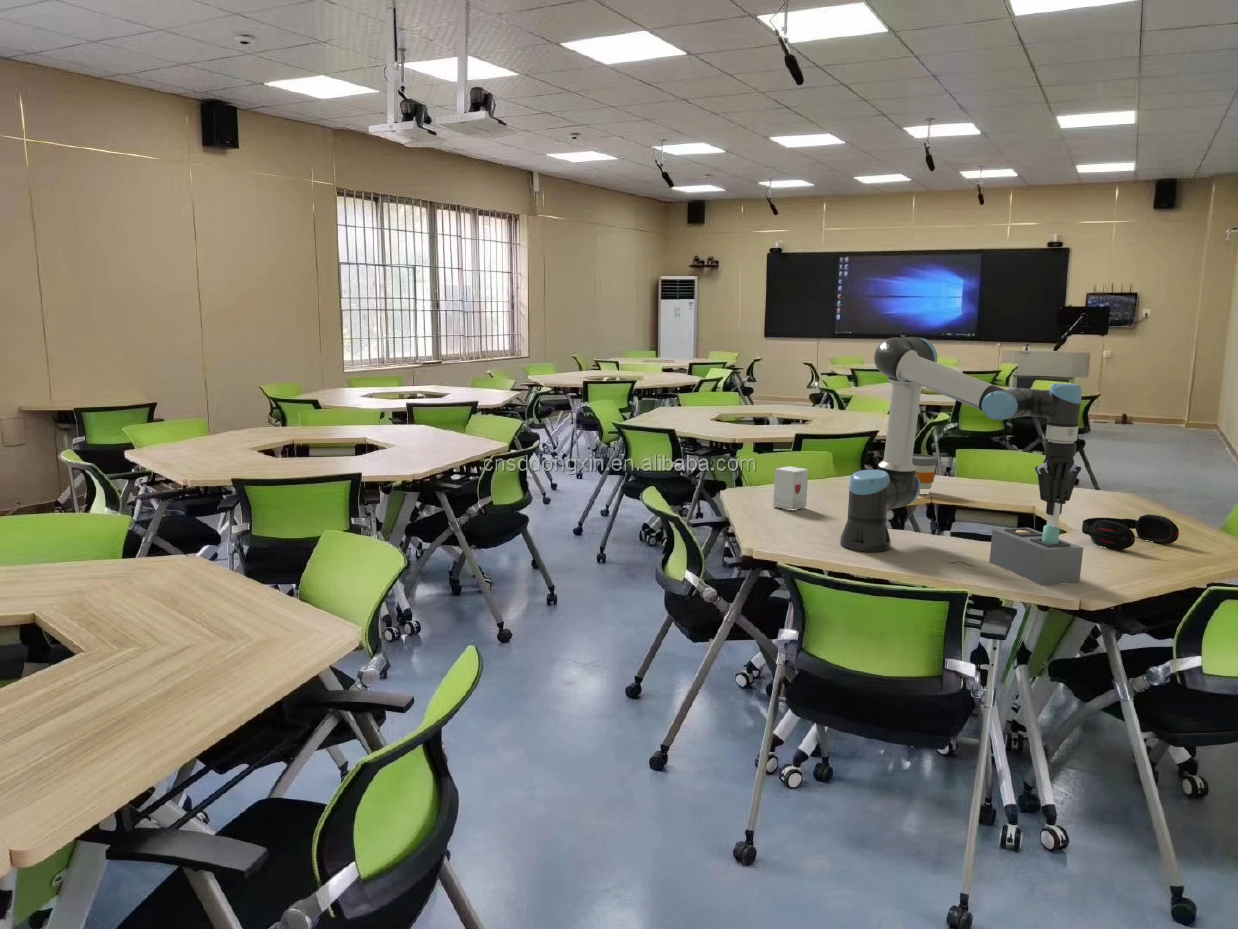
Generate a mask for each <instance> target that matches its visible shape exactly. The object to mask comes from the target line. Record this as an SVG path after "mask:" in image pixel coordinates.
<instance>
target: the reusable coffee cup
mask: <svg viewBox="0 0 1238 929" xmlns="http://www.w3.org/2000/svg"><path fill="white" fill-rule="evenodd" d="M912 464H913V465H914V466H915V467H916V475H917V476H918V479H919V480H920V484H921V489H930V488H931V489H932V484H933V483H934V481H935V477H936V476H935V475H936V467H937V465H938V459H937V457H936V456H935V455H929V454H922V453H921V454H919V453H913V457H912Z"/></svg>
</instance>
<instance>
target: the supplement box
mask: <svg viewBox="0 0 1238 929" xmlns="http://www.w3.org/2000/svg"><path fill="white" fill-rule="evenodd" d="M808 481H809V469H807V468H802V467H801V468H800V467H796V466H782V467H777V468H775V472H774V484H773V485H774V486H773V487H774V488H773V504H772V507H773V506H776V507H780V508H784V509H800V508H804V507H806V508H807V500H808V499H807V498H808Z"/></svg>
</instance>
